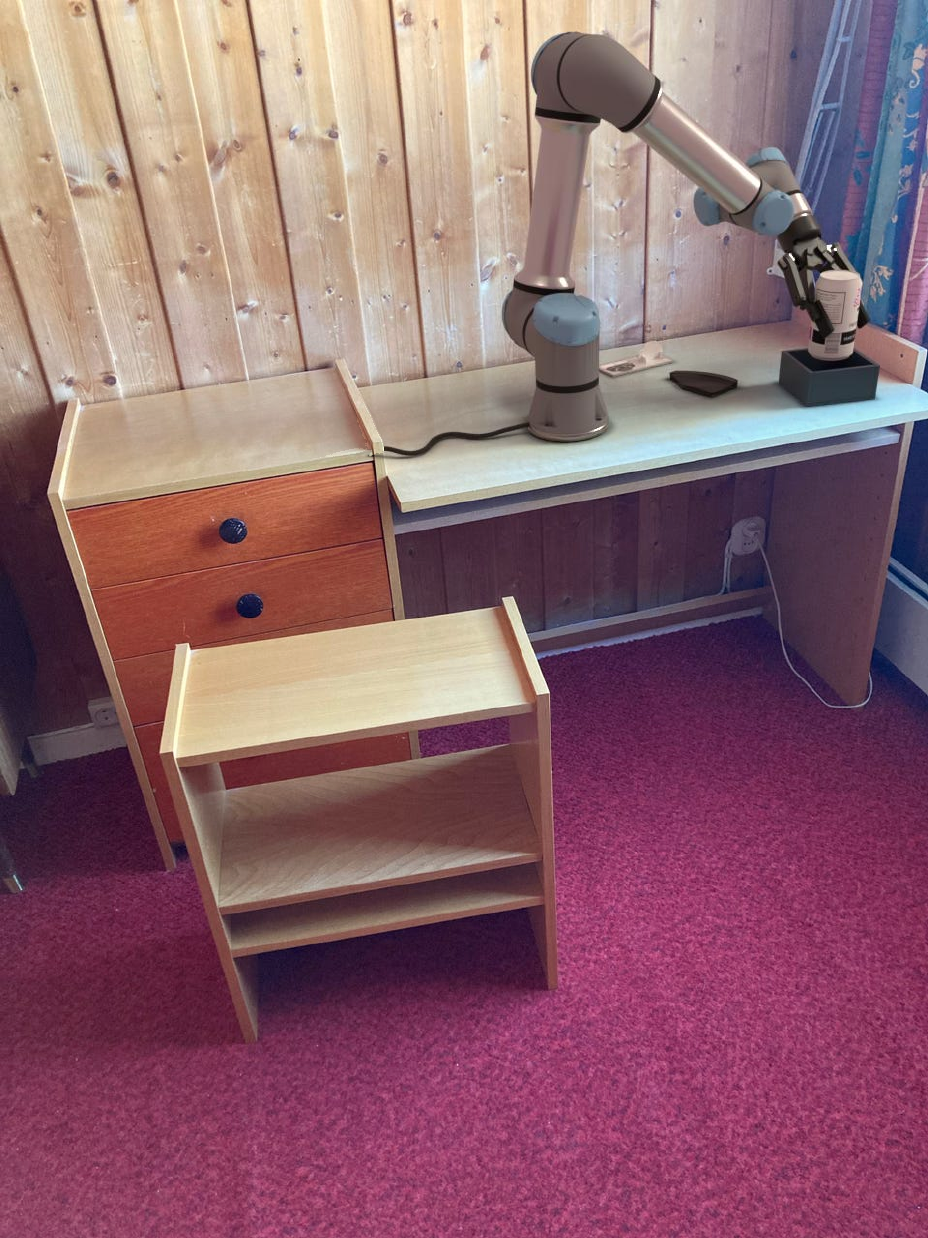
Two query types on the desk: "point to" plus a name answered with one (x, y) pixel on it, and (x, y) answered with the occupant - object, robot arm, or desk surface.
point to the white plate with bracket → (638, 361)
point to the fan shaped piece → (703, 382)
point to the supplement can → (836, 314)
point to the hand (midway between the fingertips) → (846, 329)
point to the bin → (828, 378)
